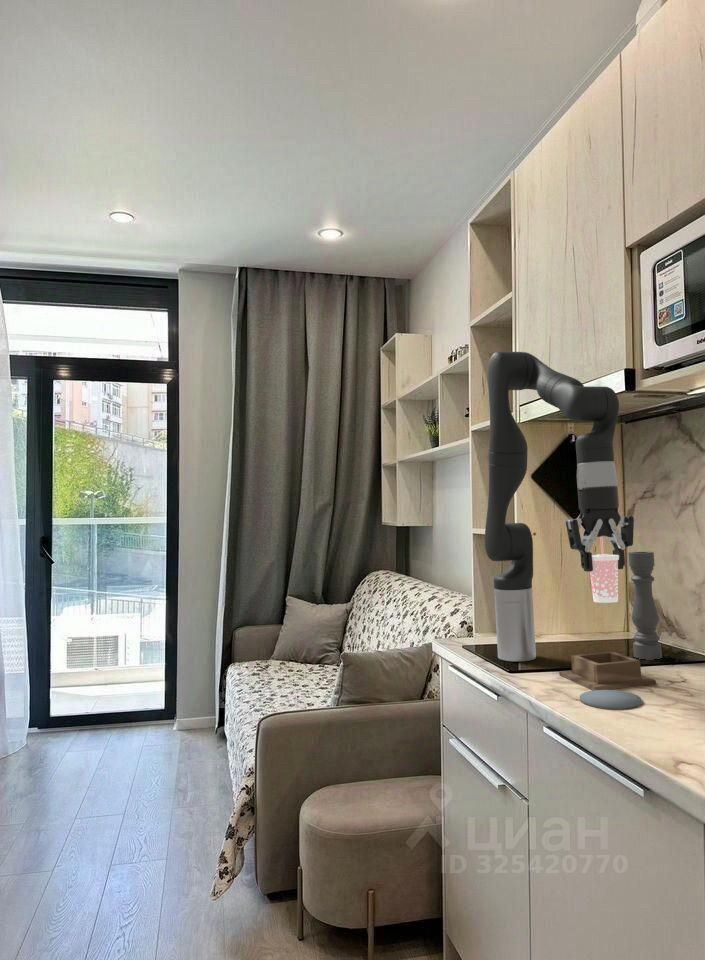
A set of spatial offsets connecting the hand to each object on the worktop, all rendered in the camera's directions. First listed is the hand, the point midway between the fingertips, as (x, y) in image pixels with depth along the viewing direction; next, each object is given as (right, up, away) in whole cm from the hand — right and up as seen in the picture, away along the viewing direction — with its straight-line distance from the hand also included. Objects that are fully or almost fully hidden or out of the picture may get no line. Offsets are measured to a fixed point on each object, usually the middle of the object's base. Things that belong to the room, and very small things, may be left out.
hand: (603, 569), depth 135 cm
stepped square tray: (+4, -25, +10) cm, 27 cm away
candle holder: (+21, -25, +28) cm, 43 cm away
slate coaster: (-1, -24, -5) cm, 25 cm away
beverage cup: (0, -6, 0) cm, 6 cm away
